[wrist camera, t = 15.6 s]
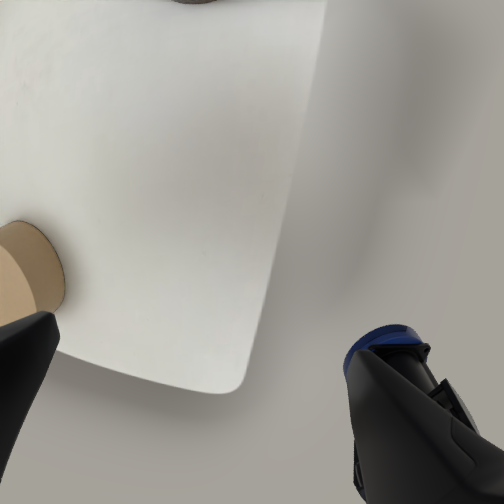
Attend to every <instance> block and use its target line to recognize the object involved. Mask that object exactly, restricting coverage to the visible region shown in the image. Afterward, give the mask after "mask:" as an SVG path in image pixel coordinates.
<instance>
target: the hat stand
mask: <svg viewBox="0 0 504 504" xmlns="http://www.w3.org/2000/svg"><path fill="white" fill-rule="evenodd" d="M172 1H175V2H179V3H186V4H200V3H207V2H212V1H216V0H172Z"/></svg>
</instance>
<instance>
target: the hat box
mask: <svg viewBox="0 0 504 504" xmlns="http://www.w3.org/2000/svg"><path fill="white" fill-rule="evenodd" d="M64 291H65V282H64V275H63V270H62V267H61V264H60V261H59V259H58V256H57V254H56V252H55V250H54V249H53V247H52V245H51V244H50V242H49V241H48V240H47V238H46V237H45V236H44V235H43V234H42V233H41V232H40V231H39V230H38V229H36V228H35V227H34V226H32V225H30V224H28V223H25V222H21V221H15V222H11V223H9V224H7V225H5V226H3V227H1V228H0V327H1V326H3V325H6V324H8V323H11V322H13V321H16V320H18V319H21V318H24V317H26V316H29V315H31V314H34V313H36V312H39V311H42V310H44V311H48V312H52V313H54V312H55V311H56V310H57V308H58V307H59V306H60V305H61V303H62V300H63V297H64Z"/></svg>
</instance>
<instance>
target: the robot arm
mask: <svg viewBox="0 0 504 504" xmlns="http://www.w3.org/2000/svg"><path fill="white" fill-rule="evenodd" d="M59 340H60V333H59V329H58V326H57V322H56V318H55V315H54V314H53V313H52V312H48V311H44V310H42V311H39V312H36V313H34V314H31V315H29V316H26V317H24V318H21V319H18V320H16V321H13V322H11V323H8V324H6V325H3V326H1V327H0V483H1V478H2V476H3V473H4V471H5V468H6V465H7V462H8V459H9V457H10V454H11V452H12V449H13V446H14V444H15V441H16V439H17V437H18V434H19V432H20V429H21V427H22V425H23V422H24V420H25V418H26V416H27V413H28V411H29V409H30V407H31V405H32V403H33V400H34V398H35V396H36V394H37V392H38V390H39V388H40V386H41V384H42V382H43V380H44V377H45V375H46V372H47V370H48V368H49V365H50V363H51V360H52V358H53V355H54V353H55V350H56V348H57V346H58V343H59ZM430 349H431V347H430V345H429V344H427V343H418V344H372V345H370V346H369V347H368V348H367V350H356V351H355V352H354V354H353V357H352V359H351V362H350V365H349V367H348V370H347V375H346V379H347V388H348V397H349V407H350V417H351V424H352V429H353V434H354V438H355V440H354V481H353V482H354V485H355V486H356V489H357V491H358V492H359V494H360V496H361V497H362V498H363V499H364V500H365V501H366V503H367V504H504V451H503V450H501V449H500V448H498V447H496V446H495V445H493V444H491V443H490V442H489V441H487V440H486V439H484V438H482V437H481V436H480V434H479V431H478V429H477V427H476V425H475V422H474V420H473V418H472V416H471V414H470V412H469V411H468V409H467V407H466V406H465V404H464V403H463V401H462V399H461V398H460V397H459V395H458V394H457V392H456V391H455V390H454V388H453V387H452V386H451V384H450V383H449V382H448V380H447V379H446V378H445V379H444V380H443V381H441V382H440V383H441V384H439V385H438V383H437V381H436V380H435V378H434V376H433V374H432V373H431V371H430V370H429V368H428V366H427V364H426V363H425V360H426V358H427V356H428V353H429V352H430ZM372 350H373V351H372Z"/></svg>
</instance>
